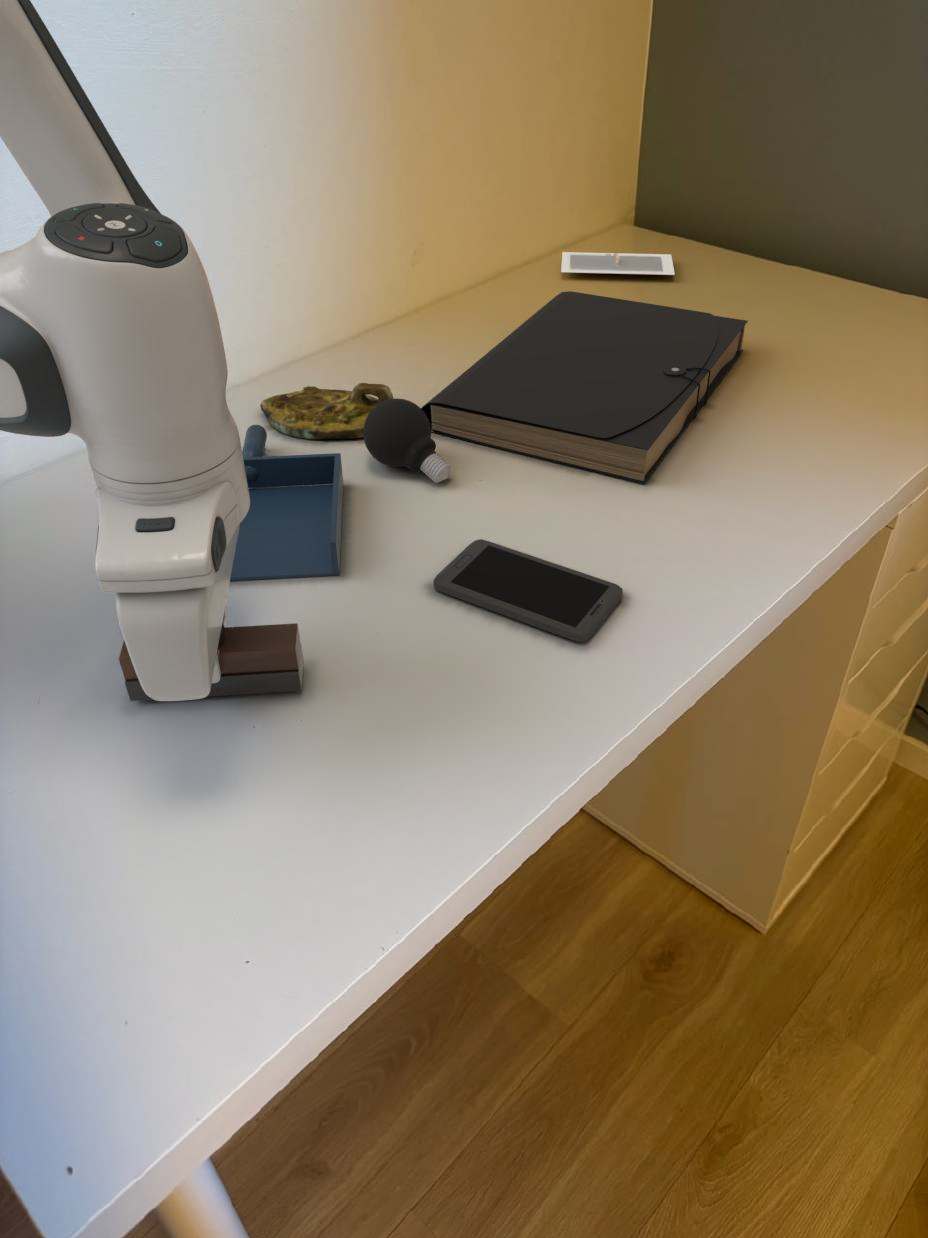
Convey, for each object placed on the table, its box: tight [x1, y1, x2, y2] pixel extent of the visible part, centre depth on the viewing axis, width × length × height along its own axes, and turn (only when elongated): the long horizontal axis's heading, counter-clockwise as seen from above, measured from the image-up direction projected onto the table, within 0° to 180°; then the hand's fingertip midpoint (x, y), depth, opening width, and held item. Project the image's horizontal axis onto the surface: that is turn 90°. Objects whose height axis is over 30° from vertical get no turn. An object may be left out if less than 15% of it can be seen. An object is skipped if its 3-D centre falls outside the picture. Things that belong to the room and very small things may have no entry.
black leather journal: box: [420, 290, 749, 484], centre depth 107 cm, size 33×4×24 cm
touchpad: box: [560, 251, 676, 276], centre depth 135 cm, size 8×15×2 cm, turn 84°
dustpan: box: [230, 424, 344, 582], centre depth 89 cm, size 22×17×3 cm
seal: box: [259, 382, 394, 440], centre depth 102 cm, size 9×5×15 cm
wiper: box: [118, 622, 305, 702], centre depth 70 cm, size 3×12×6 cm, turn 94°
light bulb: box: [363, 398, 451, 484], centre depth 94 cm, size 6×6×10 cm
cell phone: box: [432, 538, 624, 643], centre depth 79 cm, size 7×14×1 cm, turn 58°
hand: (213, 657), depth 70 cm, fingers closed on wiper, 3 cm apart
